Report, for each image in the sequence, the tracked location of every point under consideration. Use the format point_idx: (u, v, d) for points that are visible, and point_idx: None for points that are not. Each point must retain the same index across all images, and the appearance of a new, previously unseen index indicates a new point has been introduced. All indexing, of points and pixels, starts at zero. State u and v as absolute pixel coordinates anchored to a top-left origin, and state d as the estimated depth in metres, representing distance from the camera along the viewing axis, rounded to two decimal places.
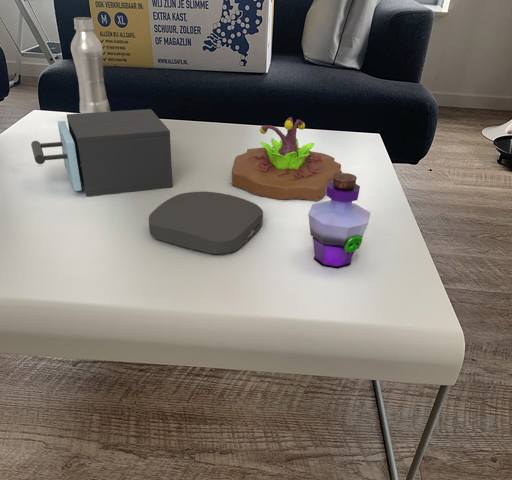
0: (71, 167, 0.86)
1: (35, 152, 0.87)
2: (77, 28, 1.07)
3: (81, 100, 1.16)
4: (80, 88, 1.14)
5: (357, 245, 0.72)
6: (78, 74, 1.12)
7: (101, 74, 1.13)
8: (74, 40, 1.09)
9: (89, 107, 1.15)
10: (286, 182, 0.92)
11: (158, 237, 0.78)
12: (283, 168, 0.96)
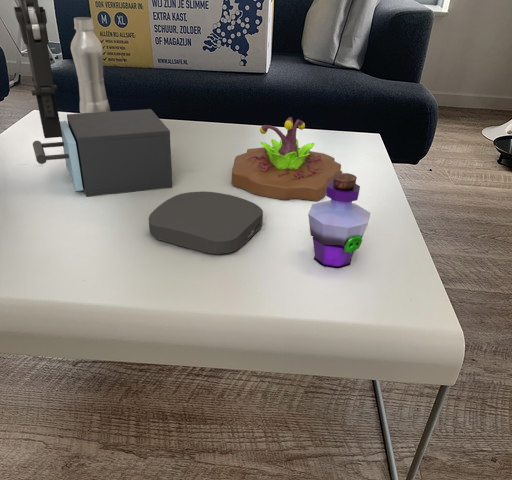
0: (73, 167, 0.86)
1: (37, 152, 0.87)
2: (77, 28, 1.07)
3: (81, 100, 1.16)
4: (80, 88, 1.14)
5: (357, 245, 0.72)
6: (78, 74, 1.12)
7: (101, 74, 1.13)
8: (74, 40, 1.09)
9: (89, 107, 1.15)
10: (286, 182, 0.92)
11: (158, 237, 0.78)
12: (283, 168, 0.96)
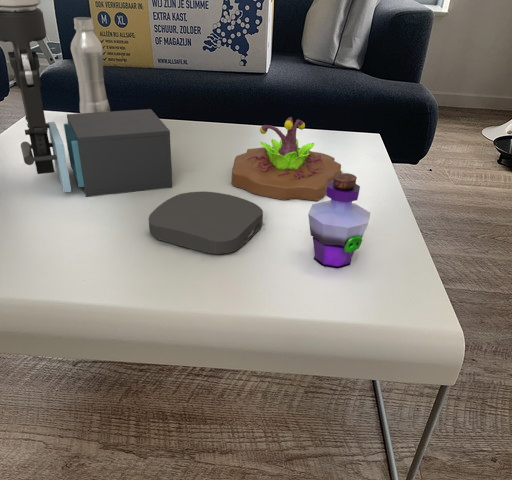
0: (60, 168, 0.86)
1: (24, 153, 0.86)
2: (77, 28, 1.07)
3: (81, 100, 1.16)
4: (80, 88, 1.14)
5: (357, 245, 0.72)
6: (78, 74, 1.12)
7: (101, 74, 1.13)
8: (74, 40, 1.09)
9: (89, 107, 1.15)
10: (286, 182, 0.92)
11: (158, 237, 0.78)
12: (283, 168, 0.96)
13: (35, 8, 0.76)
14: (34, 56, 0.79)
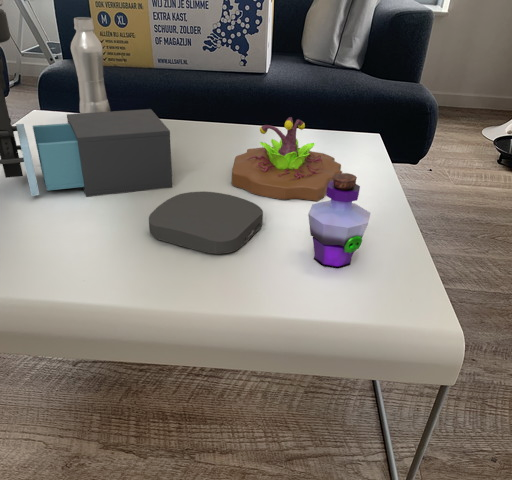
0: (27, 171, 0.84)
1: None
2: (77, 28, 1.07)
3: (81, 100, 1.16)
4: (80, 88, 1.14)
5: (357, 245, 0.72)
6: (78, 74, 1.12)
7: (101, 74, 1.13)
8: (74, 40, 1.09)
9: (89, 107, 1.15)
10: (286, 182, 0.92)
11: (158, 237, 0.78)
12: (283, 168, 0.96)
13: None
14: None
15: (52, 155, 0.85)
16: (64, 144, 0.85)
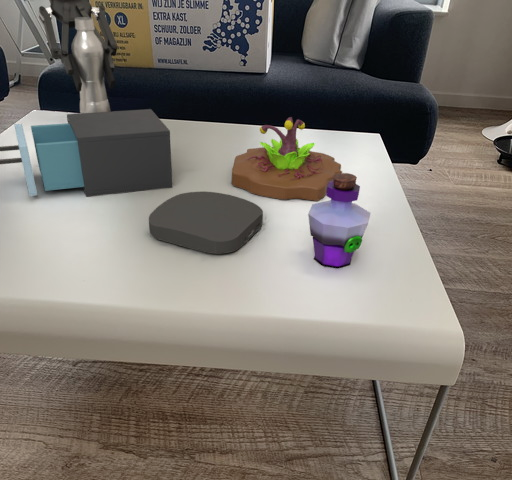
0: (25, 171, 0.84)
1: None
2: (78, 28, 1.07)
3: (81, 100, 1.16)
4: None
5: (357, 245, 0.72)
6: None
7: (101, 74, 1.14)
8: (75, 40, 1.09)
9: (89, 107, 1.15)
10: (286, 182, 0.92)
11: (158, 237, 0.78)
12: (283, 168, 0.96)
13: None
14: None
15: (50, 155, 0.85)
16: (62, 144, 0.84)
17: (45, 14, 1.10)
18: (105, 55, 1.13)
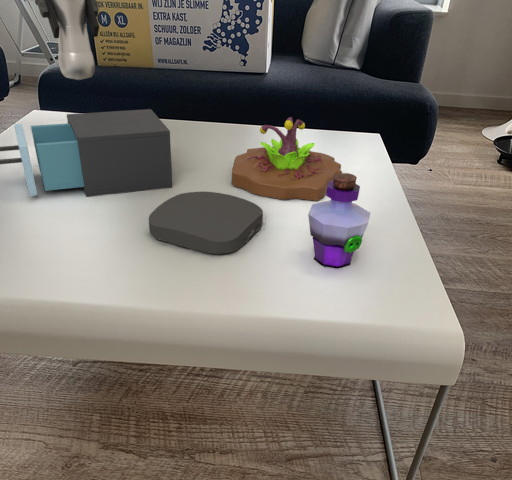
0: (25, 171, 0.84)
1: None
2: None
3: (60, 50, 0.98)
4: (59, 35, 0.97)
5: (357, 245, 0.72)
6: None
7: (83, 19, 0.96)
8: None
9: (69, 58, 0.98)
10: (286, 182, 0.92)
11: (158, 237, 0.78)
12: (283, 168, 0.96)
13: None
14: None
15: (50, 155, 0.85)
16: (62, 144, 0.84)
17: None
18: None
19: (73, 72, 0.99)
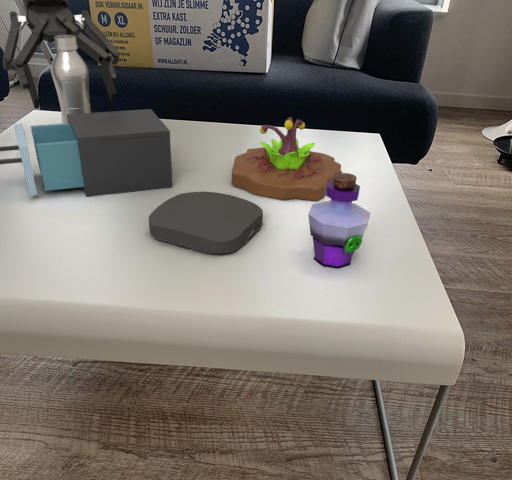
0: (25, 171, 0.84)
1: None
2: (58, 48, 0.92)
3: None
4: (63, 116, 0.99)
5: (357, 245, 0.72)
6: (60, 100, 0.97)
7: (87, 100, 0.98)
8: (55, 61, 0.93)
9: None
10: (286, 182, 0.92)
11: (158, 237, 0.78)
12: (283, 168, 0.96)
13: None
14: None
15: (50, 155, 0.85)
16: (62, 144, 0.84)
17: (14, 21, 0.94)
18: (105, 64, 0.99)
19: None
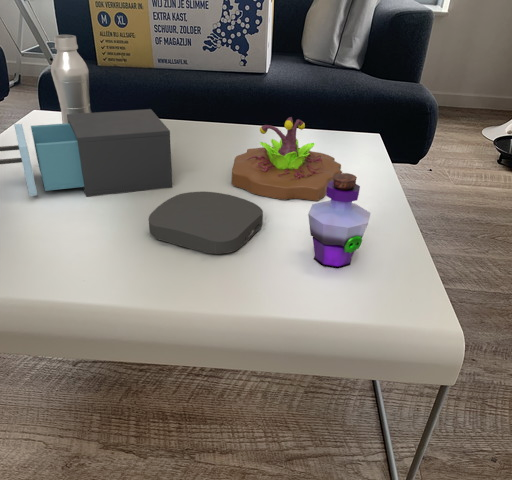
0: (25, 171, 0.84)
1: None
2: (58, 48, 0.92)
3: None
4: (63, 116, 0.99)
5: (357, 245, 0.72)
6: (60, 100, 0.97)
7: (87, 100, 0.98)
8: (55, 61, 0.93)
9: None
10: (286, 182, 0.92)
11: (158, 237, 0.78)
12: (283, 168, 0.96)
13: None
14: None
15: (50, 155, 0.85)
16: (62, 144, 0.84)
17: None
18: None
19: None
